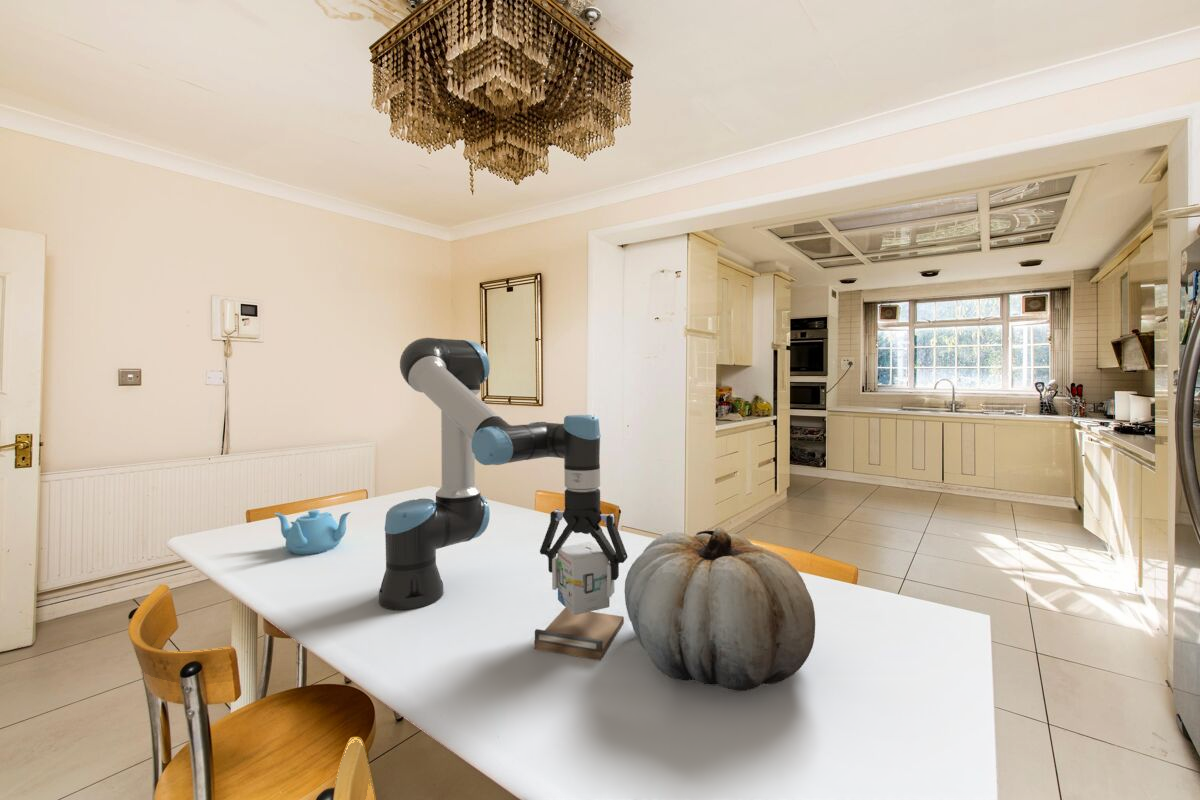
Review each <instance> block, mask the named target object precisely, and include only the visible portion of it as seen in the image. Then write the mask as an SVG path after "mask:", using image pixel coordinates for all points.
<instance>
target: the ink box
mask: <svg viewBox="0 0 1200 800" xmlns="http://www.w3.org/2000/svg"><path fill="white" fill-rule="evenodd" d="M557 555H558V588H557V600H558V602H560V604H562V606H563V607H564V608H567V609H568V610H569V611H570V612H571V613H572V614H573V615H577V614H582V613H586V612H595V611H599V610H603V609H606V608H607V609H608V608H610V597H607V565H608V563H609V560H608V558H607V557H606V555H605V554H604V552H603V551H602V549H601V548H600V546H599V545H598V544H595V543H593V542H592V541H590V542H584V543H577V544H573V545H567V546H566V545H565V546H562V547H560V548H559V549H558V553H557Z"/></svg>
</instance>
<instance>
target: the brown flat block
mask: <svg viewBox="0 0 1200 800" xmlns="http://www.w3.org/2000/svg"><path fill="white" fill-rule="evenodd" d="M624 619H625V616H623V615H615V614H608V613H603V612H602V613H601V612H595V611H591V612H586V613H582V614H577V615H573V614H572V613H571V612H570V611H569V610H568V609H567V608H566V607H564V608H563V609H562V610H561V612H560V613H559V614H558V615H557V616H556V617H555V618H554V619H553V620H552V621H551V623H550V624H549V625H547V627H545V629H540V628H539V629H537V628H536V629H535V630H534V641H533V642H534V643H533V644H534V645H533V647H534V649H535V650H540V651H546V652H550V653H556V654H557V653H558V654H562V655H567V656H572V657H573V656H574V657H578V658H585V659H589V660H596V661H602V659H603V658H604V656H605V655H606V653H607V651H608V650H609V648H610V646H611V645H612V643H613V641H614V640H615V638H616V637H617V635H618V633H619V632H620V631H621V628H622V627H623V625H624V622H625V620H624Z"/></svg>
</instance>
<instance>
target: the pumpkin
mask: <svg viewBox="0 0 1200 800" xmlns="http://www.w3.org/2000/svg"><path fill="white" fill-rule="evenodd" d="M713 531H714V532H713V534H712V535H710V534H699V535H696V534H695V535H694V536H692V535H689V534H687V533H684V532H676V531H674V532H668V533H665V534H662V535H660V536H659V537H657V538H655V539H654V540H653V539H652V542H650V544H648V546H646V547H645V549H644V550H643V551H642V553H641V554H640V555H639V556H638V557H637V558H636V559H635V561H634V562H633V563H632V564H631V566H630V568H629V570H628V572H627V575H626V577H625V580H624V600H625V603H624V604H625V607H626V612H627V615H628V619H629V622H631V626H632V630H633V632H634V635H635V636H636V638H637V639H636V640H637V641H638V642H639V644H640V646H641V647H642V648H643V650H644V651H645V652H646V655H647V656H648V658H649V659H650V661H651V662H652V664H653V665H654V666H655V668H656V669H657V670H659V671H660V672H661V673H662V674H664V676H666V677H668V678H671V679H674V680H676V681H684V682H685V681H688V682H689V681H695V682H698V683H699V684H701V685H706V686H715V685H716V686H717V685H718V686H720V687H722V688H724V689H726V690H729V691H737V692H743V691H744V692H746V691H750V690H755V689H756V688H758V687H760V686H761V685H774V684H777V683H782V682H783V681H785V680H787V679H789V678H790V677H792V676H793V675H795V673H796V672H798V671H799V669H801V668H802V667H803V665H805V662H806V661H807V660H808V658H809V656H810V654H811V651H812V649H813V646H814V642H815V635H816V634H815V633H816V613H815V607H814V602H813V599H812V596H811V594H810V592H809V590H808V588H807V586H806V583H805V581H804V579H803V578H802V576H801V575H800V573H799V571H797V569H796V567H794V566H793V565H792V564H791V563H790V561H788V560H787V559H786V558H784V557H783V556H782V555H780V554H778V553H776V552H773V551H771V550H770V549H766V548H764V547H762V546H758V545H755V544H753V543H752V542H751V541H749V539H747V538H746V537H744V536H742V535H739V534H736V533H728V532H727V531H726V530H725V529H724V528H723V527H717V528H715V529H714V530H713Z"/></svg>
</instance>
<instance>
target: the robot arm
mask: <svg viewBox="0 0 1200 800" xmlns="http://www.w3.org/2000/svg"><path fill="white" fill-rule="evenodd" d="M401 353H402V354H401V356H400V359H399V368H400V369H399V370H400V373H401V375H402V377H403V379H404V381H405V382H406V383H407V384H408V386H410V387H411V388H412V389H413V390H414V391H416V392H419V393H423V394H424V395H425V396H426V397H427V398H428V399H429V400H431V401H432V402H433V404H434V405H436V406H437V407H438V408H439V409H440V411H441V415H440V417H441V418H440V419H441V420H440V421H441V423H440V424H441V425H440V426H441V427H440V428H441V431H440V433H441V439H440V440H441V487H440V488H439V489H438V490H437V491H436V492H435V501H434V499H430V498H417V499H410V500H405V501H402V502H399V503H396V504H395V505H393V506H391V507H390V508H389V509H388V510H387V511H386V515H385V523H384V532H385V533H384V534H385V535H384V536H385V537H384V538H385V572H384V575H383V578H382V581H381V584H380V588H379V590H378V605H380V606H381V607H383V608H385V609H388V610H389V609H390V610H398V611H399V610H402V611H403V610H410V609H411V610H412V609H418V608H421V607H425V606H428V605H431V604H432V603H435V602H436V601H439V600H440V599H441V598H442V597H443V595H444V583H443V580H442V578H441V574H440V572H439V568H438V566H437V555H436V554H437V550H438V549H442V548H446V547H449V546H453V545H456V544H459V543H465V542H469V541H471V540H473V539H476V538H479V537H480V536H482V535H483V534H484V533H485V531H486V530H487V528H488V525H489V523H490V516H491V515H490V514H491V513H490V510H491V509H490V506H489V504H488V501H487V499H486V498H485V497H484V495H481V490H480V489H479V488H478V487H477V486H476V485H475V484H476V481H475V480H476V478H475V476H476V472H475V469H476V468H475V467H476V466H475V465H476V464H475V463H476V462H475V461H477V462H478V463H479V464H480V465H484V466H492V465H493V466H500V465H504V464H510V463H515V462H522V461H530V460H536V459H542V458H560V459H563V461H564V463H563V465H564V466H563V467H564V471H563V472H564V487H565V488H566V489H565V490H564V510H560V509H559V508H556V509H554V510H553V511H551V512H550V517H549V519H550V522H549V524H548V528H547V531H546V533H545V536H544V537H543V542H541V543H542V544H541V546H540V549H539V554H540V555H542V556H543V555H545V556H546V557H547V558H548V559H547V560H548V562H547V563H548V565H547V566H548V572H549V573H551V575H552V578H551V580H552V583H551V584H552V587H551V588H552V590H554V591H556V590H558V549H559V548H560V547H563V546H564V544H565V543H566V541H568V538H569V537H570V535H571V534H572V533H574V534H579V533H581V534H585V535H589V534H590V535H591V537H592V538H593V539H594V540H595V541H596V542H597V545H598V546H599V547H600V548H601V549H602V551H603V552H604V554H605V555H606V557H607V558H608V560H609V563H608V565H607V597H609V598H611V597H612V596H613V595H614V594H615V581H617V579H618V578H619V576H620V575H619V573H620V570H619V569H620V567H619V565H620V564H624V563H625V562H626V560H627V559H628V554H627V550H626V549H625V546H624V543H623V540H622V537H621V535H620V532H619V530H618V527H617V525H616V514H615V513H613V512H611V513H610V514H606V513H604V514H603V513H602V512H601V489H600V488H599V487H600V486H601V468H600V467H601V463H600V461H601V458H600V455H601V454H600V452H601V450H600V448H601V436H602V435H601V431H600V430H601V429H600V428H601V427H600V419H599V417H598V416H596V415H595V414H568V415H566V416H564V418H563V423H558V422H557V423H555V422H546V421H536V422H534V421H533V422H530V423H528V424H517V425H512V424H509V422H507V421H505V420H504V419H503V418H502V417H501V416H499V415H498V413H496V412H495V411H494V410H493V409H492V408H491V407H490V406H489V405H488V404H486V403H485V402H484V401H483V400H482V399H481V398H479V397H478V396H477V395H478V394H479V393H480V392H481V385H482V384H483V383H485V382H486V381H487V379H488V376H489V375H490V368H491V367H490V365H491V364H490V360H489V355H488V354H487V351H486V350H485V349H484V348H483V346H482V345H481V344H479V343H477V342H475V341H470V340H464V339H451V338H450V339H449V338H435V337H424V338H423V337H421V338H418V339H416V340H414V341H412V342H411V343H409V344H408V345H407V346H406V347H405V349H404V350H403V351H402V352H401ZM562 519H564V521H565V522H566V523H567V525H566V526H565V528H564V529H563V531H562V533H560V535H559V537H558V539H557V540H556V541H555V543H554V544H553V542H554V538H555V535H556V533H557V530H558V526H559V524H560V521H562ZM602 521H603V523H604V525H605V526H606V529H607V532H608V535H609V537H610V538H609V539H610V540H611V543H612V544H611V543H610V541H609V539H608V538H607V537H606V535H605V534H604V532H603V529H602V527H601V525H600V523H601V522H602ZM552 544H553V546H552ZM551 546H552V547H551Z"/></svg>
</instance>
